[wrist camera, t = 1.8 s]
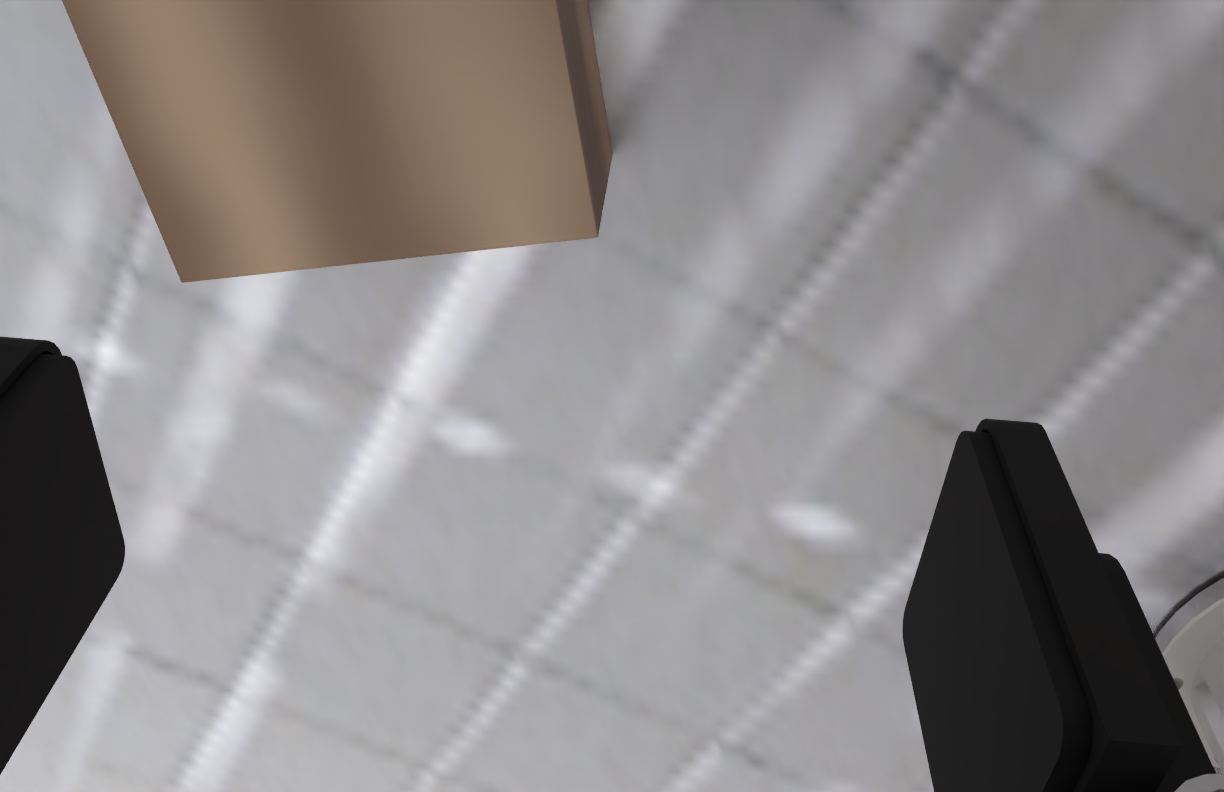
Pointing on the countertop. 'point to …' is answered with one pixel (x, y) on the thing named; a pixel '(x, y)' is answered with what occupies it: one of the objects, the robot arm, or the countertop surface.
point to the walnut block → (352, 125)
